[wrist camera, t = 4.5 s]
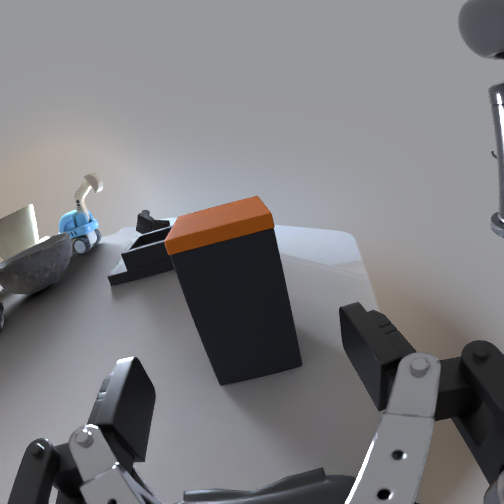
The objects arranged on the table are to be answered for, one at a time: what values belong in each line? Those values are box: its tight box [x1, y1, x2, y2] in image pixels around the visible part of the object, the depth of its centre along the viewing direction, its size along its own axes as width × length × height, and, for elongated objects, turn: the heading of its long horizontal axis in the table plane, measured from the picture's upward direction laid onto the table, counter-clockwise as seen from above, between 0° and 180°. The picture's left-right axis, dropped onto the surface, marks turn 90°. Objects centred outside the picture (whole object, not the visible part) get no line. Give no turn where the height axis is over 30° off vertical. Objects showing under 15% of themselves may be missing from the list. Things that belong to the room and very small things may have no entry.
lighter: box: [136, 210, 170, 234], centre depth 62 cm, size 8×2×5 cm
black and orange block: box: [164, 196, 302, 385], centre depth 19 cm, size 6×6×10 cm
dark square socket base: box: [108, 226, 174, 286], centre depth 47 cm, size 12×16×4 cm
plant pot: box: [0, 204, 39, 261], centre depth 61 cm, size 15×15×16 cm
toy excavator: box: [59, 173, 104, 256], centre depth 65 cm, size 9×17×17 cm, turn 91°
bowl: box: [0, 232, 72, 295], centre depth 48 cm, size 18×18×8 cm
